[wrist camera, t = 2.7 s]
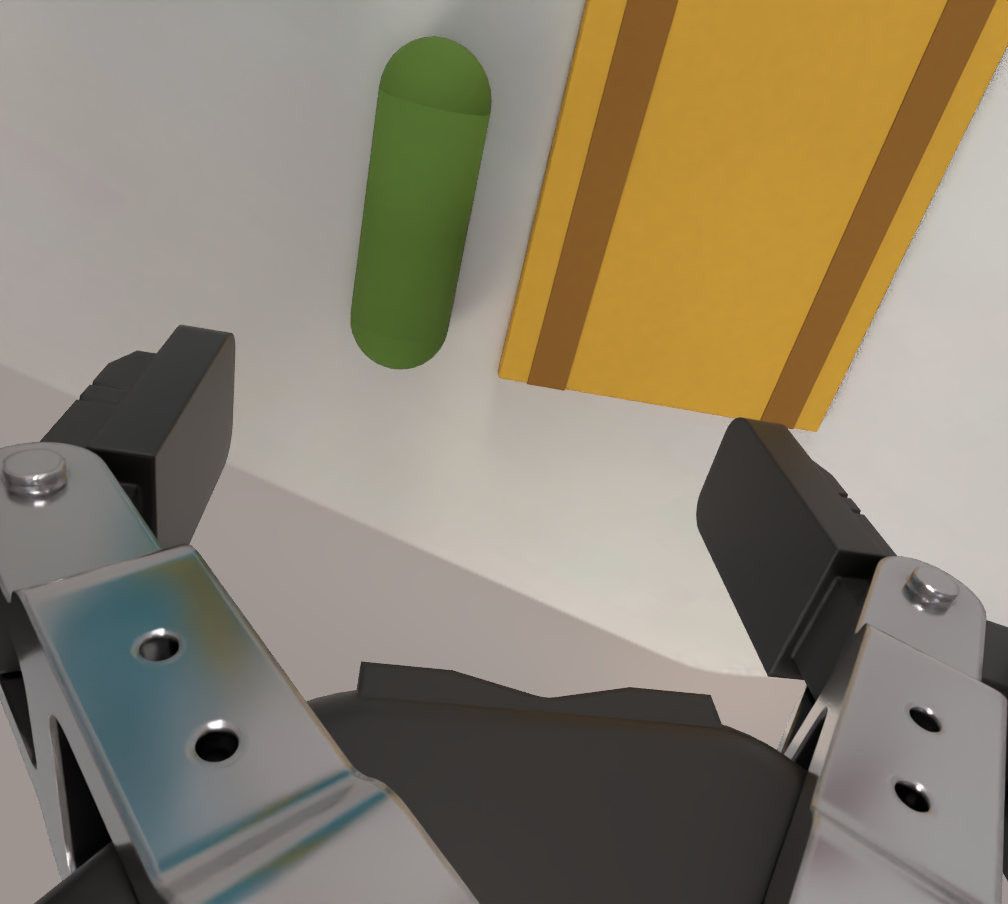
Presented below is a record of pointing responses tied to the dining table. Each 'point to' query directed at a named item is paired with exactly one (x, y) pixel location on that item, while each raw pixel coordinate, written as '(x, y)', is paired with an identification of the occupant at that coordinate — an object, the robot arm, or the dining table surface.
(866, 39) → the towel
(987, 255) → the dining table surface
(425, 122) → the pickle
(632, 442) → the dining table surface
